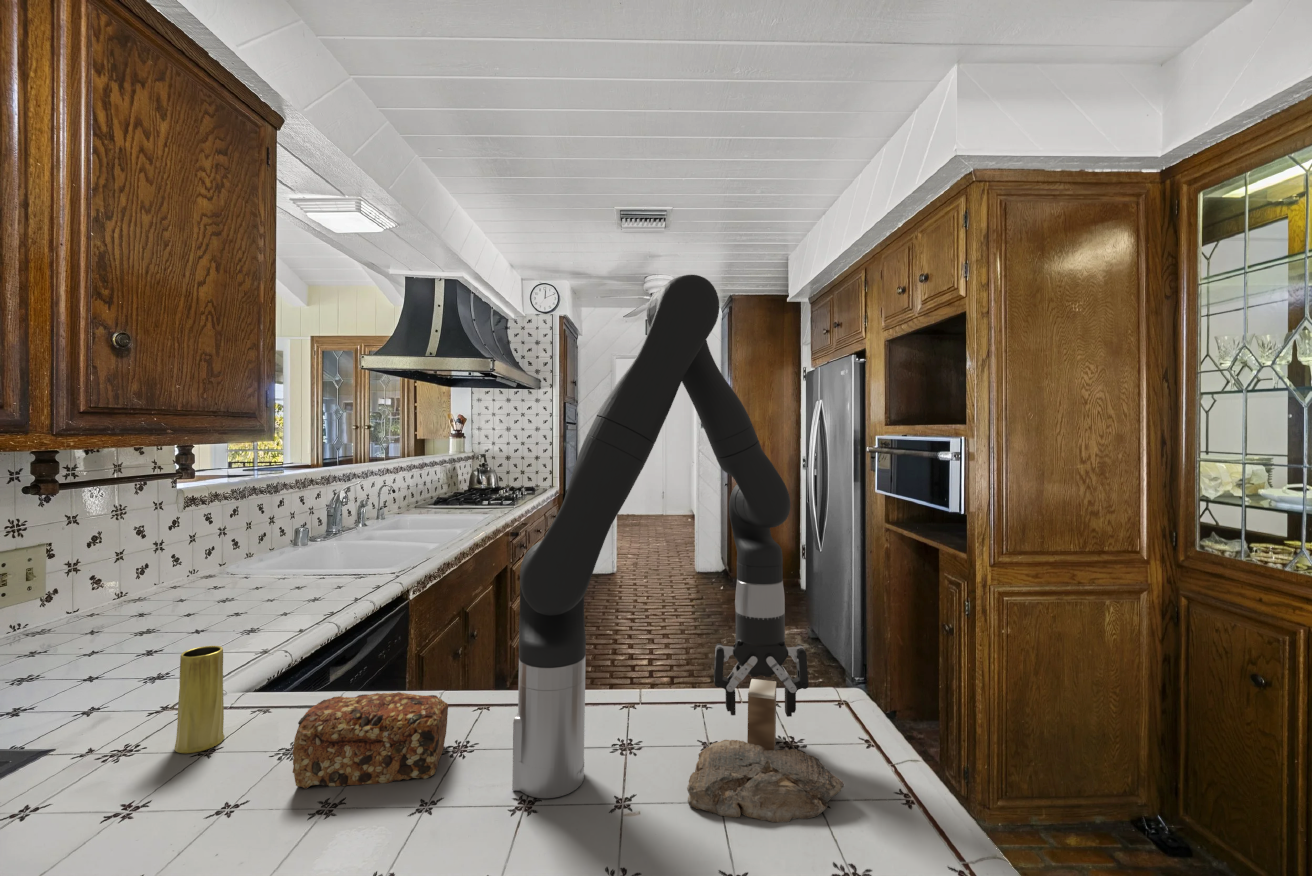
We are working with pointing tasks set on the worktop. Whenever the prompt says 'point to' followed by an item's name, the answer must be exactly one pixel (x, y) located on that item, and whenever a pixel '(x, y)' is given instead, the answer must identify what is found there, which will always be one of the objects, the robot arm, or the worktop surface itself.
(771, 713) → the walnut block
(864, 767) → the worktop surface
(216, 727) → the vase
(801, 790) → the clay tablet
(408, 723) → the bread
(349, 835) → the worktop surface
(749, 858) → the worktop surface
